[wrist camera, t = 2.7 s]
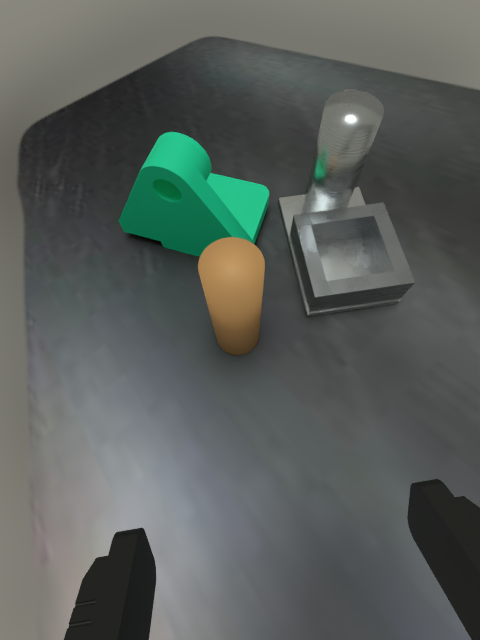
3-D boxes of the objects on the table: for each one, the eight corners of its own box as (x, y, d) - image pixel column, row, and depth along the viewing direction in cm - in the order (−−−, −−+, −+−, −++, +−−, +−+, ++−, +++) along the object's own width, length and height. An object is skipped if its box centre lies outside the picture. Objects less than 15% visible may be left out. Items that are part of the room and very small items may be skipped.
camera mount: (270, 206, 34) (278, 107, 24) (247, 270, 31) (246, 186, 22) (159, 180, 35) (126, 77, 26) (128, 238, 33) (79, 148, 23)
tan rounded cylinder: (240, 307, 29) (236, 226, 19) (267, 337, 28) (278, 268, 18) (207, 331, 29) (185, 260, 19) (234, 363, 28) (225, 307, 17)
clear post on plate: (397, 303, 29) (473, 224, 19) (306, 317, 29) (336, 244, 19) (357, 191, 34) (401, 82, 24) (278, 202, 34) (290, 96, 24)
